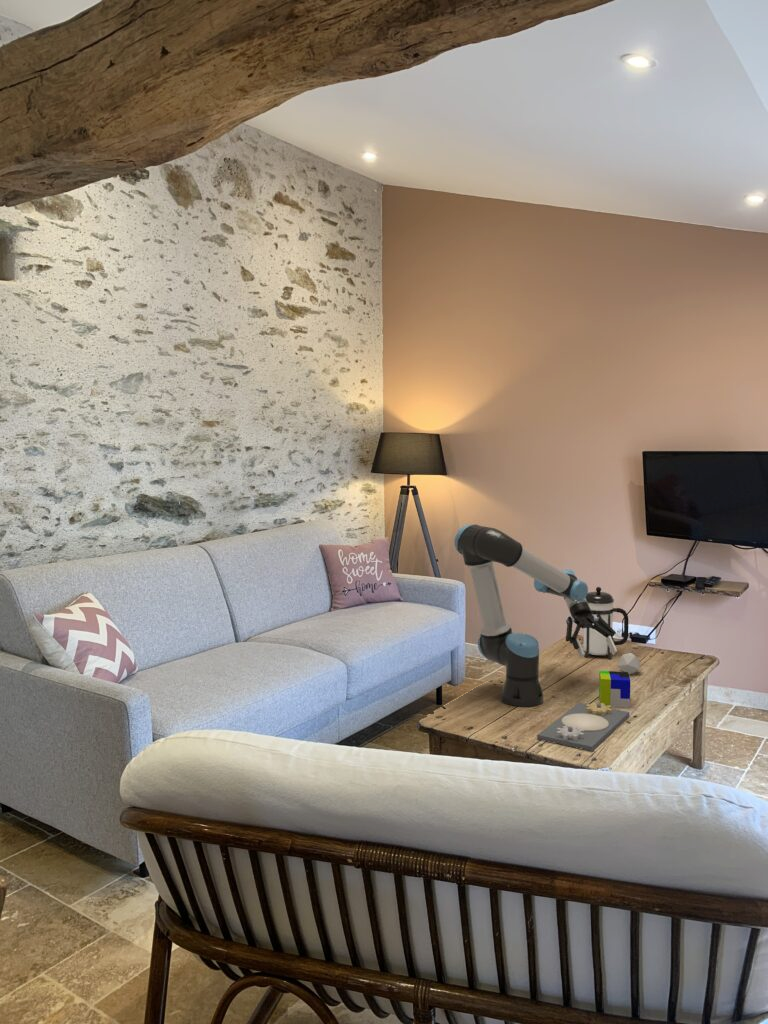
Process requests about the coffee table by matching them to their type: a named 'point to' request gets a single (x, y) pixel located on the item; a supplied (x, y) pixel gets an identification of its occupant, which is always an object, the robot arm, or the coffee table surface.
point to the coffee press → (604, 606)
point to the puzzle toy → (614, 688)
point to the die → (629, 663)
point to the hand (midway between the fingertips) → (598, 654)
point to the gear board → (584, 726)
